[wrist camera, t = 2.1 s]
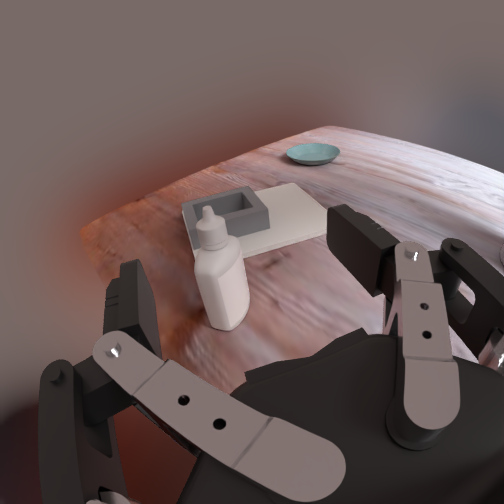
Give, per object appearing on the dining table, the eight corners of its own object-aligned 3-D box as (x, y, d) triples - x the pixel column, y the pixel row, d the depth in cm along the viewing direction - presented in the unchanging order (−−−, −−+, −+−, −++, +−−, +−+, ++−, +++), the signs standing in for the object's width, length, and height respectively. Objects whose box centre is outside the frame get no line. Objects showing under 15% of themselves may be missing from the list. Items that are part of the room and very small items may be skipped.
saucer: (315, 174, 57) (314, 163, 56) (275, 161, 65) (274, 152, 64) (350, 160, 62) (350, 150, 61) (312, 149, 70) (311, 140, 69)
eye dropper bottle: (265, 307, 31) (251, 201, 24) (222, 338, 28) (190, 232, 21) (239, 288, 34) (219, 188, 27) (197, 315, 31) (164, 214, 24)
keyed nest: (293, 186, 53) (292, 166, 51) (342, 228, 40) (343, 204, 38) (182, 215, 49) (177, 194, 47) (198, 271, 37) (191, 246, 35)
